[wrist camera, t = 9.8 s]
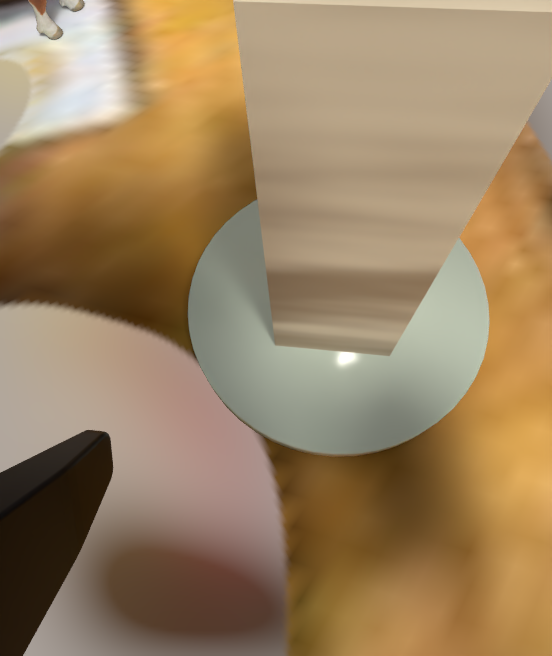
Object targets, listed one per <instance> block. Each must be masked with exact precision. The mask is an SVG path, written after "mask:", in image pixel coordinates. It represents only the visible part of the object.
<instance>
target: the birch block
mask: <svg viewBox="0 0 552 656" xmlns="http://www.w3.org/2000/svg"><path fill="white" fill-rule="evenodd" d="M233 2H234V10H235V19H236V27H237V35H238V43H239V52H240V60H241V68H242V76H243V85H244V93H245V101H246V109H247V117H248V126H249V134H250V142H251V150H252V159H253V167H254V175H255V183H256V192H257V200H258V208H259V216H260V224H261V233H262V241H263V249H264V257H265V266H266V274H267V282H268V290H269V299H270V307H271V315H272V323H273V331H274V340H275V346H286V347H297V348H308V349H318V350H329V351H340V352H350V353H361V354H372V355H382V356H390V355H391V353H392V351H393V350H394V348H395V346H396V344H397V343H398V341H399V339H400V338H401V336H402V334H403V332H404V331H405V329H406V327H407V326H408V324H409V322H410V320H411V319H412V317H413V315H414V314H415V312H416V310H417V309H418V307H419V305H420V303H421V302H422V300H423V298H424V297H425V295H426V293H427V291H428V290H429V288H430V286H431V285H432V283H433V281H434V279H435V278H436V276H437V274H438V273H439V271H440V269H441V267H442V266H443V264H444V262H445V261H446V259H447V257H448V255H449V254H450V252H451V250H452V249H453V247H454V245H455V244H456V242H457V240H458V238H459V237H460V235H461V233H462V232H463V230H464V228H465V226H466V225H467V223H468V221H469V220H470V218H471V216H472V214H473V213H474V211H475V209H476V208H477V206H478V204H479V202H480V201H481V199H482V197H483V196H484V194H485V192H486V190H487V189H488V187H489V185H490V184H491V182H492V180H493V179H494V177H495V175H496V173H497V172H498V170H499V168H500V167H501V165H502V163H503V161H504V160H505V158H506V156H507V155H508V153H509V151H510V149H511V148H512V146H513V144H514V143H515V141H516V139H517V137H518V136H519V134H520V132H521V131H522V129H523V127H524V126H525V124H526V122H527V120H528V119H529V117H530V115H531V113H532V112H533V110H534V108H535V107H536V105H537V103H538V101H539V100H540V98H541V96H542V95H543V93H544V91H545V89H546V88H547V86H548V84H549V83H550V81H551V79H552V0H234V1H233Z"/></svg>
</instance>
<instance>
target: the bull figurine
mask: <svg viewBox="0 0 552 656" xmlns="http://www.w3.org/2000/svg"><path fill="white" fill-rule="evenodd" d="M28 1H29V3H30V4H31V5H32V7H33V9H34V12H35V15H36V21H37V30H38V32H39V33H45V34H46V35H47V36H48V37H49V39H58V38H60V37H61V36H62V34H63V31H62V29H61V28H60V27H59V26H58V25H57V24H56V23H55V22H54V21H52V20H51V19H50V17H49V16H48V14H47V12H46V4H47V0H28ZM59 3H60V5H61V6H62V7H64V6H67V7H68V8H69V9H70V10H71V11H78V10H80V9H82V8H83V6H84V1H83V0H59Z"/></svg>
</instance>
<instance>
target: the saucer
mask: <svg viewBox="0 0 552 656" xmlns="http://www.w3.org/2000/svg"><path fill="white" fill-rule="evenodd" d="M188 322H189V333H190V337H191V341H192V345H193V350H194V352H195V355H196V357H197V360H198V362H199V365H200V367H201V369H202V371H203V373H204V374H205V376H206V378H207V380H208V382H209V383H210V385H211V386H212V388H213V390H214V391H215V392H216V394H217V395H218V396H219V398H220V399H221V400H222V402H223V403H224V404H225V405H226V407H227V408H228V409H229V410H230V411H231V412H232V413H233V414H234V415H235V416H236V417H237V418H238V419H239V420H240V421H242V422H243V423H244V424H246V425H247V426H248V427H250V428H251V429H252V430H254V431H255V432H257V433H258V434H260V435H262V436H264V437H266V438H267V439H269V440H271V441H273V442H275V443H277V444H280V445H282V446H285V447H287V448H290V449H293V450H296V451H300V452H305V453H309V454H313V455H321V456H330V457H349V456H360V455H366V454H372V453H377V452H380V451H383V450H387V449H390V448H393V447H396V446H398V445H400V444H402V443H404V442H406V441H409V440H411V439H413V438H414V437H416V436H417V435H419V434H420V433H422V432H423V431H425V430H427V429H428V428H430V427H431V426H433V425H434V424H436V423H437V422H438V421H440V420H441V419H442V418H443V417H444V416H445V415H446V414H447V413H449V412H450V411H451V410H452V409H453V408H454V407H455V406H456V404H457V403H458V402H459V401H460V400H461V398H462V397H463V396H464V395H465V394H466V392H467V391H468V389H469V387H470V386H471V384H472V382H473V381H474V379H475V377H476V376H477V373H478V371H479V368H480V366H481V363H482V361H483V358H484V354H485V350H486V346H487V342H488V333H489V308H488V300H487V296H486V291H485V286H484V283H483V281H482V278H481V275H480V272H479V270H478V268H477V266H476V264H475V262H474V260H473V258H472V256H471V254H470V253H469V251H468V250H467V248H466V247H465V245H464V244H463V243H462V241H461V240H460V238H458V240H457V242H456V244H455V245H454V247H453V249H452V250H451V252H450V254H449V255H448V257H447V259H446V261H445V262H444V264H443V266H442V267H441V269H440V271H439V273H438V274H437V276H436V278H435V279H434V281H433V283H432V285H431V286H430V288H429V290H428V291H427V293H426V295H425V297H424V298H423V300H422V302H421V303H420V305H419V307H418V309H417V310H416V312H415V314H414V315H413V317H412V319H411V320H410V322H409V324H408V326H407V327H406V329H405V331H404V332H403V334H402V336H401V338H400V339H399V341H398V343H397V344H396V346H395V348H394V350H393V351H392V353H391V355H390V356H382V355H372V354H361V353H350V352H340V351H329V350H318V349H308V348H297V347H286V346H275V340H274V331H273V323H272V315H271V307H270V299H269V290H268V282H267V274H266V266H265V257H264V249H263V241H262V233H261V224H260V216H259V208H258V200H255V201H253V202H252V203H250V204H249V205H247V206H246V207H244V208H243V209H241V210H240V211H239V212H237V213H236V214H235V215H234V216H233V217H232V218H231V219H229V220H228V221H227V222H226V223H225V224H224V225H223V226H222V227H221V229H220V230H219V231H218V232H217V233H216V234H215V235H214V237H213V238H212V240H211V241H210V243H209V244H208V246H207V247H206V248H205V250H204V252H203V254H202V256H201V258H200V260H199V262H198V264H197V267H196V270H195V273H194V276H193V279H192V283H191V288H190V293H189V301H188Z"/></svg>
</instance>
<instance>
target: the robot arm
mask: <svg viewBox="0 0 552 656" xmlns="http://www.w3.org/2000/svg"><path fill="white" fill-rule="evenodd" d="M112 473H113V460H112V450H111V441H110V437H109V434H108V433H106V432H102V431H93V430H86V431H84V432H82V433H80V434H78V435H76V436H74V437H72V438H70V439H68V440H66V441H64V442H61V443H59V444H58V445H56V446H53V447H52V448H49V449H47V450H45V451H43V452H41V453H39V454H37V455H35V456H33V457H31V458H30V459H27V460H25V461H23V462H21V463H19V464H17V465H15V466H13V467H11V468H9V469H7V470H5V471H3V472H1V473H0V656H23V654H24V653H25V651H26V649H27V647H28V645H29V644H30V642H31V640H32V638H33V636H34V635H35V633H36V631H37V629H38V627H39V625H40V624H41V622H42V620H43V618H44V616H45V615H46V612H47V611H48V609H49V607H50V606H51V604H52V602H53V600H54V598H55V596H56V595H57V593H58V591H59V589H60V587H61V586H62V584H63V582H64V580H65V578H66V576H67V575H68V573H69V571H70V569H71V567H72V566H73V564H74V562H75V560H76V558H77V556H78V554H79V552H80V550H81V548H82V546H83V544H84V541H85V539H86V537H87V534H88V532H89V530H90V527H91V525H92V523H93V520H94V518H95V515H96V513H97V511H98V508H99V506H100V504H101V501H102V499H103V497H104V494H105V492H106V490H107V487H108V485H109V482H110V480H111V477H112Z"/></svg>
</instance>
